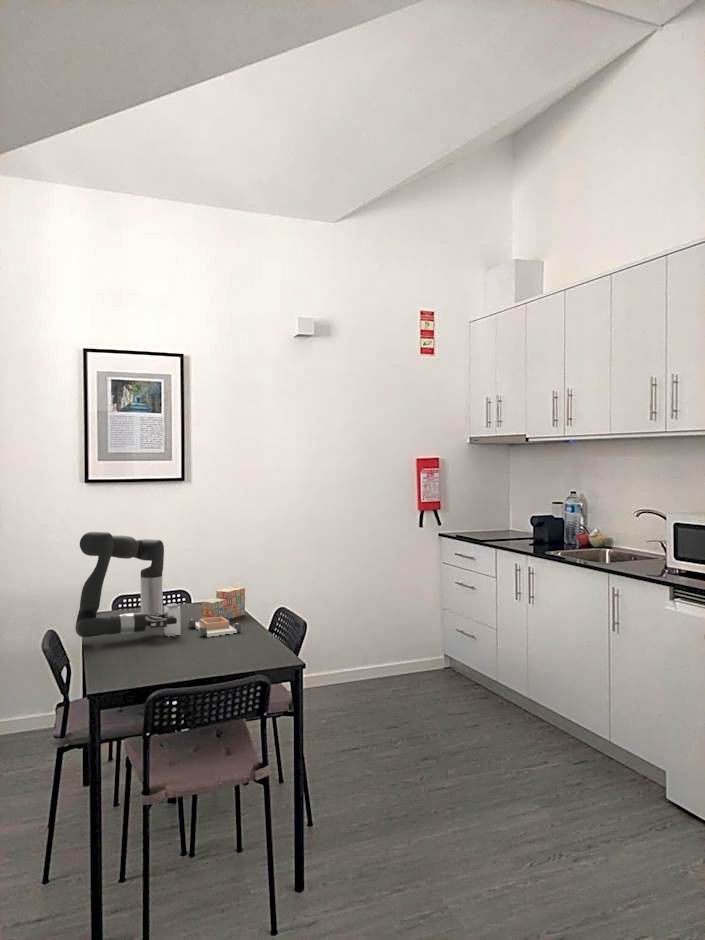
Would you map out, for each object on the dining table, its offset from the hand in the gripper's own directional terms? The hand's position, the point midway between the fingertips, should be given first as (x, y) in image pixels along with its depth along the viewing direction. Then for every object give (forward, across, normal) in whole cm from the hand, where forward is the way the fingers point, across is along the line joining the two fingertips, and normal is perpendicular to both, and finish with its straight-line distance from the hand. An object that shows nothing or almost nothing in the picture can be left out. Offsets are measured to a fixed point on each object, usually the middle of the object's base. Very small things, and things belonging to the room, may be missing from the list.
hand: (173, 618), depth 292 cm
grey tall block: (0, 0, +6) cm, 7 cm away
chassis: (+16, 0, +6) cm, 18 cm away
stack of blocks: (+26, +17, +7) cm, 32 cm away
